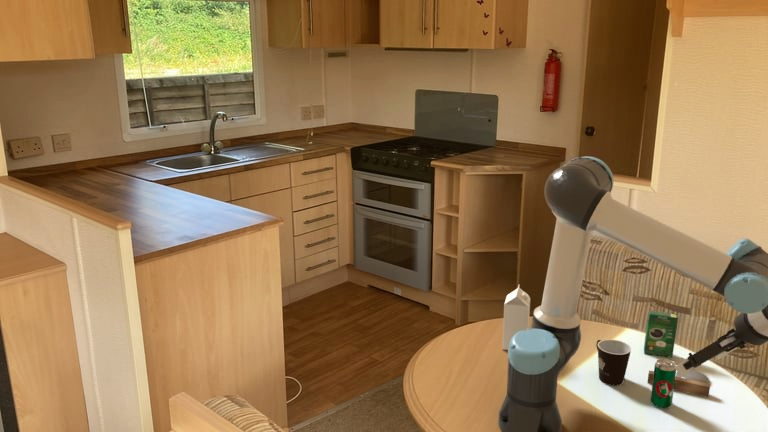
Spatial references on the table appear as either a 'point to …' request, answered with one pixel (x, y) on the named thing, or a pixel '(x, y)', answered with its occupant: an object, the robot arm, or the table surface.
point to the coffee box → (660, 333)
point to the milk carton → (515, 315)
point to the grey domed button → (695, 376)
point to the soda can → (663, 383)
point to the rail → (686, 385)
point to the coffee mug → (612, 361)
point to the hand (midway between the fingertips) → (697, 362)
